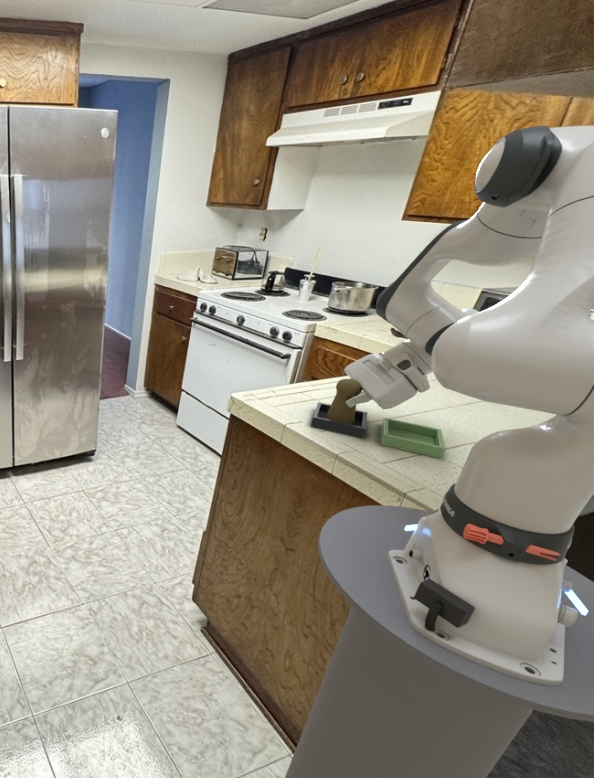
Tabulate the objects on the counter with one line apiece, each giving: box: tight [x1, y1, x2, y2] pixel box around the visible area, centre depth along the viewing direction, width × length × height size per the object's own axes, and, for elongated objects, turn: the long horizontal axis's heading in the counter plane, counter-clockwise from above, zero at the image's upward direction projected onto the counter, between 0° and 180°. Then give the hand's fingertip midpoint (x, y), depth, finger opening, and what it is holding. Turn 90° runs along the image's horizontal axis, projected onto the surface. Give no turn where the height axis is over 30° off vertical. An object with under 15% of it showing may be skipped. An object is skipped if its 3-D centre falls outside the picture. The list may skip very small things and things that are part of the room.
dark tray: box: [310, 402, 368, 439], centre depth 116 cm, size 11×11×2 cm
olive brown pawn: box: [325, 378, 363, 425], centre depth 114 cm, size 6×6×11 cm
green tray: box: [380, 417, 446, 459], centre depth 108 cm, size 11×11×2 cm
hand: (342, 399), depth 114 cm, fingers closed on olive brown pawn, 4 cm apart
